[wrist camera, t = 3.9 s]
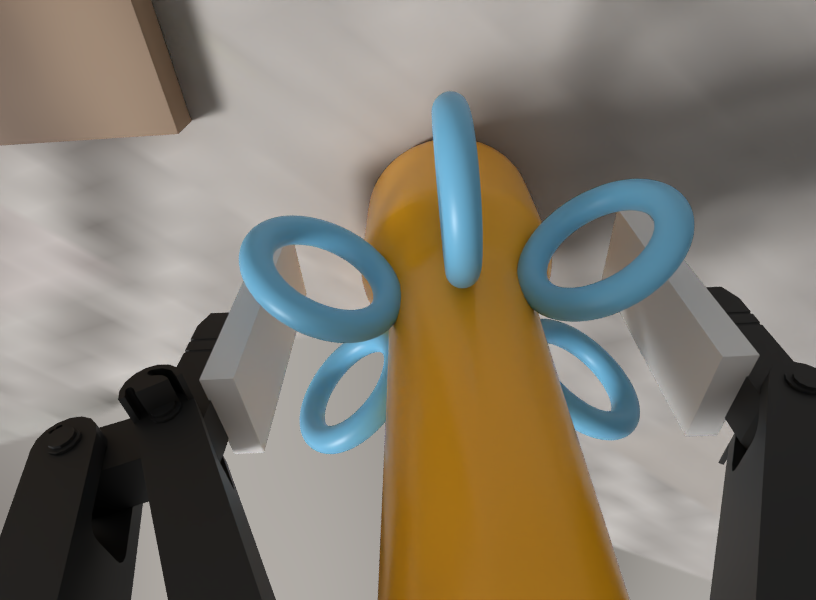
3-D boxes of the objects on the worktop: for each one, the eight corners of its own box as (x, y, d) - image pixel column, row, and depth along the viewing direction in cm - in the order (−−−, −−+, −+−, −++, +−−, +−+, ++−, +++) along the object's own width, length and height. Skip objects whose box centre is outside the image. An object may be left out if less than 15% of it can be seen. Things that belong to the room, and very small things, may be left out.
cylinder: (265, 53, 15) (-229, 538, 3) (610, 10, 14) (1494, 436, 3) (341, 341, 23) (270, 802, 11) (570, 322, 22) (758, 794, 10)
